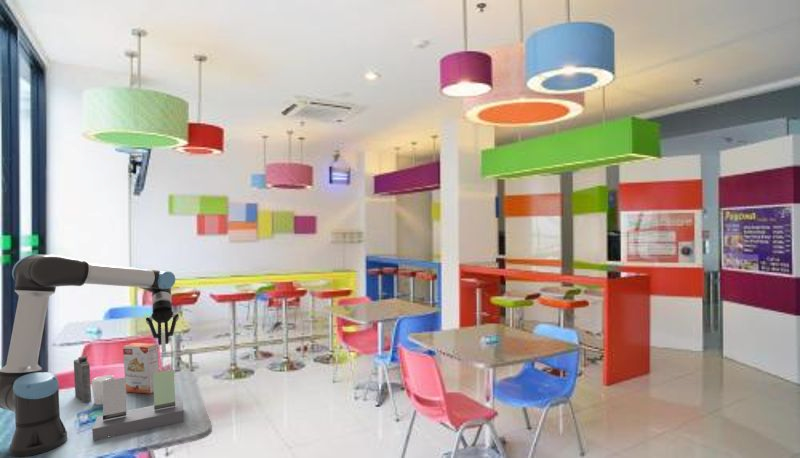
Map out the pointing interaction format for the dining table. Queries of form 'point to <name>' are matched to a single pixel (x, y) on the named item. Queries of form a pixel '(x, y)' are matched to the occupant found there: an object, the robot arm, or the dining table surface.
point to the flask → (82, 379)
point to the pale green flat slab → (164, 389)
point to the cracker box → (140, 366)
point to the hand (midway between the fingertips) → (163, 350)
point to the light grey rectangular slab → (114, 398)
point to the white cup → (99, 388)
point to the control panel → (138, 420)
